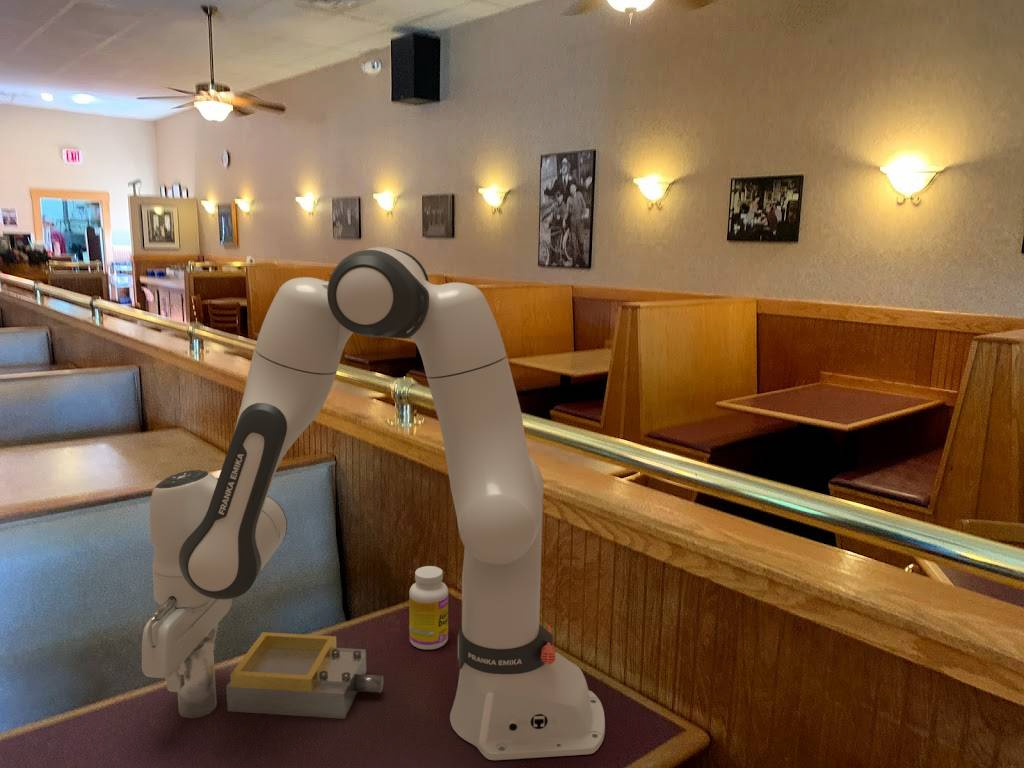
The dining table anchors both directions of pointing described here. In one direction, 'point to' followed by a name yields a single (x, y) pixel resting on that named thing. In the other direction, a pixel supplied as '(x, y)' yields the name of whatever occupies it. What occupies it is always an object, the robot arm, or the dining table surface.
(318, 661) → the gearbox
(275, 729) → the dining table surface
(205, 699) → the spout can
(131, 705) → the dining table surface
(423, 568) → the supplement bottle
